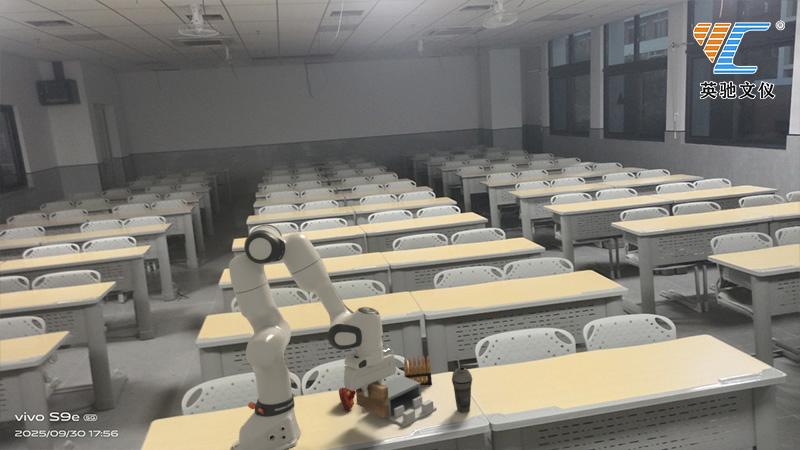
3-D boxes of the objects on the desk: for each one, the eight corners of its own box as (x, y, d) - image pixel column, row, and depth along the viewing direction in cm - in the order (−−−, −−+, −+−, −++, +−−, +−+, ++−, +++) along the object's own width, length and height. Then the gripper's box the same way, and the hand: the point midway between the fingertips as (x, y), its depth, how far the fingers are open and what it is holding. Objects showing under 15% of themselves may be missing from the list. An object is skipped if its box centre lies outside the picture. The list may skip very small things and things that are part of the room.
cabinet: (404, 426, 201) (402, 404, 200) (370, 411, 214) (369, 390, 213) (436, 409, 212) (435, 388, 210) (403, 395, 224) (401, 375, 223)
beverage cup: (471, 415, 205) (468, 361, 202) (451, 413, 208) (448, 359, 205) (475, 406, 212) (473, 353, 209) (455, 404, 215) (453, 351, 211)
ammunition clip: (405, 387, 231) (403, 358, 229) (404, 385, 233) (402, 357, 231) (432, 385, 232) (430, 355, 230) (431, 383, 234) (429, 354, 232)
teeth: (378, 389, 214) (337, 391, 214) (380, 409, 215) (339, 412, 215) (379, 378, 224) (340, 380, 224) (381, 397, 225) (341, 400, 225)
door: (380, 419, 195) (379, 390, 193) (354, 405, 205) (352, 378, 203) (388, 415, 197) (387, 387, 196) (362, 402, 207) (361, 375, 206)
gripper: (387, 344, 207) (388, 381, 210) (340, 361, 194) (342, 401, 196) (399, 349, 203) (400, 387, 205) (352, 366, 189) (354, 407, 192)
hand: (371, 394), depth 201 cm, fingers closed on door, 2 cm apart
